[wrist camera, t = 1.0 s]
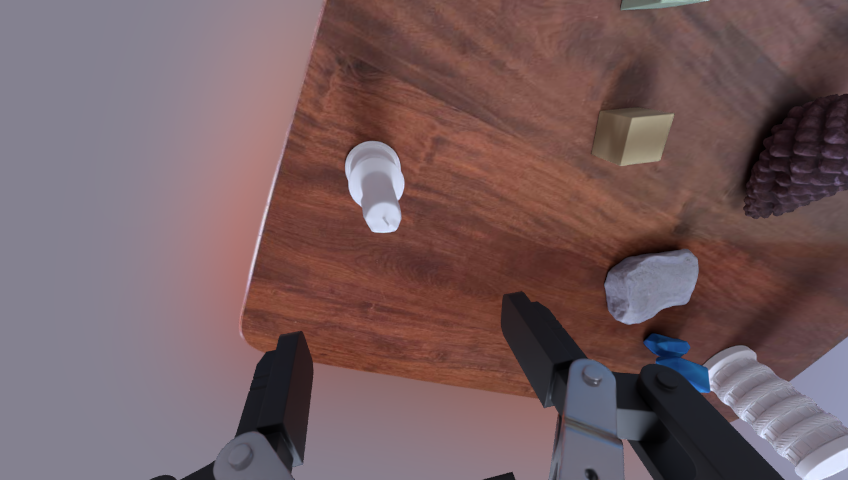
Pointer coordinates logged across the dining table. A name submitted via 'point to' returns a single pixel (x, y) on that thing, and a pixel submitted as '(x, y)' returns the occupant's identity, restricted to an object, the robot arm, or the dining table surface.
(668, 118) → the block
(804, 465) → the decorative container
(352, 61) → the dining table surface
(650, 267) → the stone block
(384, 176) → the candle
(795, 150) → the pine cone
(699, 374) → the crystal
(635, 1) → the block
